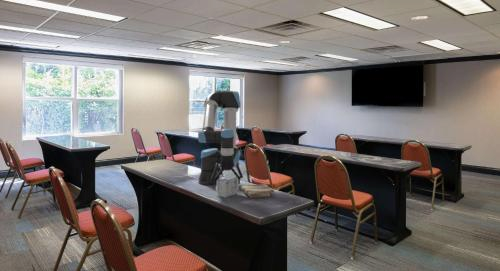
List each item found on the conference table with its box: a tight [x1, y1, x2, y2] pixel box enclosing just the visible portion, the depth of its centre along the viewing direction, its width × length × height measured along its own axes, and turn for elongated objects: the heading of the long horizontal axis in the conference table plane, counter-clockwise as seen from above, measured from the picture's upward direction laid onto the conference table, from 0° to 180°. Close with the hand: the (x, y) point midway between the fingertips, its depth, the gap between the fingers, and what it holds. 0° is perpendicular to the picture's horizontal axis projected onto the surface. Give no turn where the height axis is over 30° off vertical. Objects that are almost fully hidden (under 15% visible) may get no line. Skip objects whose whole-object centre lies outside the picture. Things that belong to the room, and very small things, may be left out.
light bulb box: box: [217, 175, 237, 198], centre depth 202 cm, size 11×7×11 cm, turn 145°
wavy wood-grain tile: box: [240, 183, 275, 199], centre depth 204 cm, size 16×16×4 cm
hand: (227, 190), depth 202 cm, fingers closed on light bulb box, 12 cm apart
